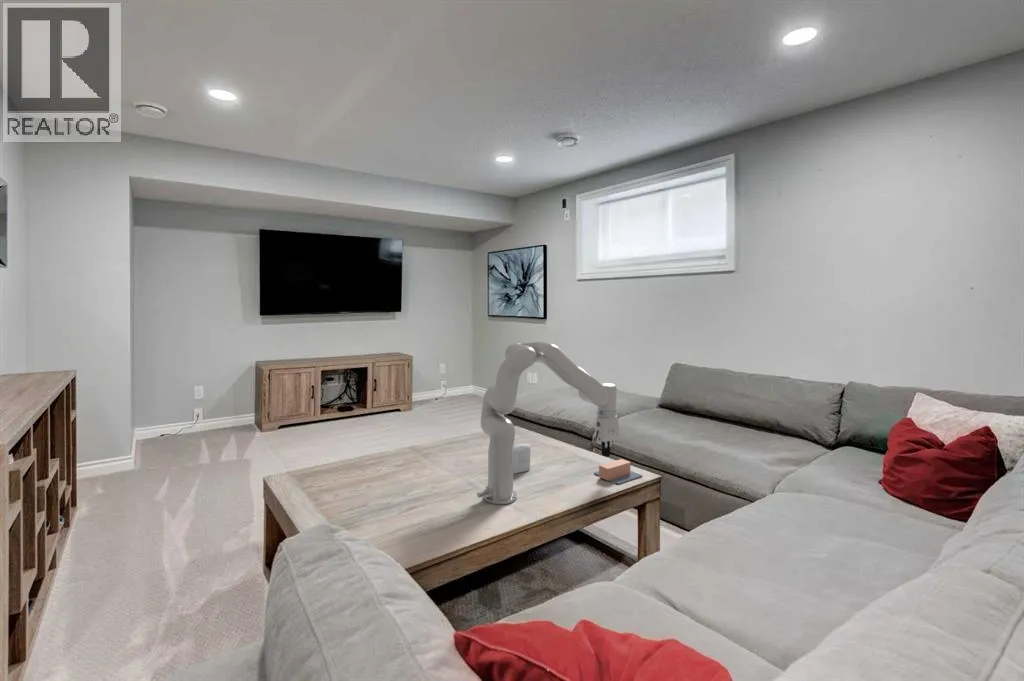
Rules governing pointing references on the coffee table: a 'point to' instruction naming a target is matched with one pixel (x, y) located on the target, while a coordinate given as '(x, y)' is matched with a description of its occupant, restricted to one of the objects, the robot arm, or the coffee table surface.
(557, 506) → the coffee table surface
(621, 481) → the mat
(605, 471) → the terracotta block
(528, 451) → the photo printer
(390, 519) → the coffee table surface
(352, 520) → the coffee table surface
